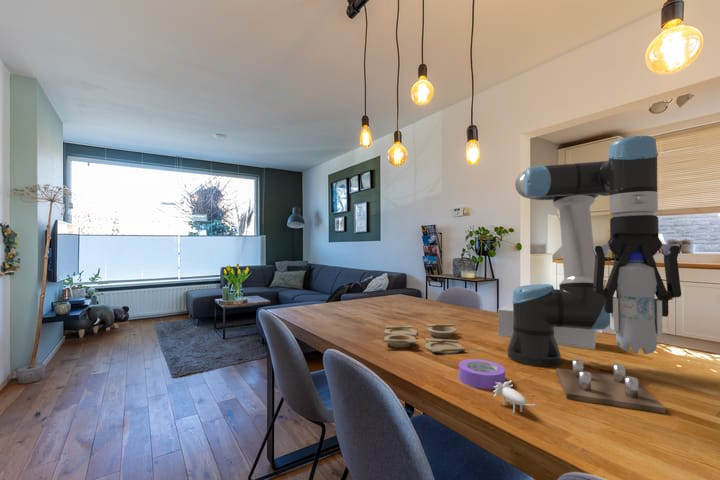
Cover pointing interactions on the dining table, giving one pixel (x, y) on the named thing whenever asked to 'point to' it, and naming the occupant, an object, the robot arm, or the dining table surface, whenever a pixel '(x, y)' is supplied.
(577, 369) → the pegs
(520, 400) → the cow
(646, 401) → the peg base
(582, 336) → the grey rectangular block
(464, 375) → the masking tape
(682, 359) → the dining table surface
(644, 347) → the bottle
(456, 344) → the tableware set
